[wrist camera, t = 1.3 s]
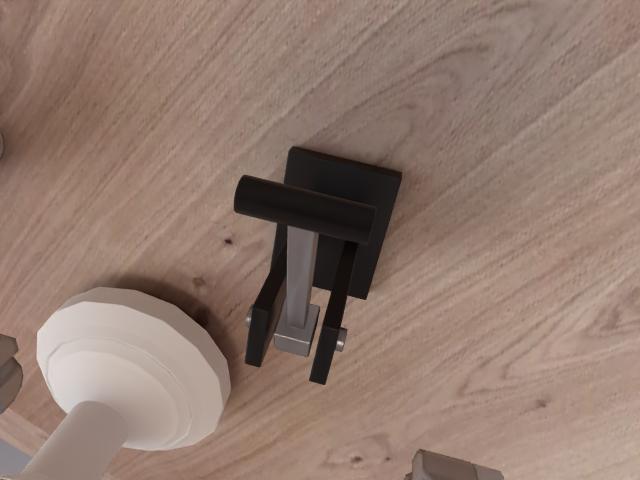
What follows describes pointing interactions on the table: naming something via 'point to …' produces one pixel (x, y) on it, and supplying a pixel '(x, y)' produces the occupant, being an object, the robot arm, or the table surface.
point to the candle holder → (124, 382)
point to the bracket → (325, 252)
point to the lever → (302, 245)
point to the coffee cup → (1, 144)
